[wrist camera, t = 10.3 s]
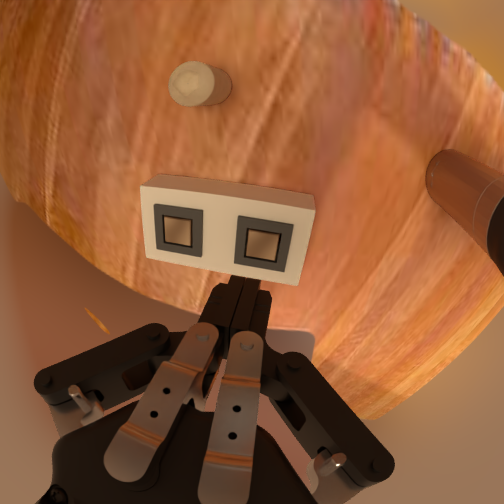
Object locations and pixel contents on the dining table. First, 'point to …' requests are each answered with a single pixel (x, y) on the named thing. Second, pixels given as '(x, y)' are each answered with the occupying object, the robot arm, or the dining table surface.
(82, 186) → the dining table surface
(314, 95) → the dining table surface
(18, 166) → the dining table surface
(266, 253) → the peg
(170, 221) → the peg
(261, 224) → the socket board
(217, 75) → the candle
